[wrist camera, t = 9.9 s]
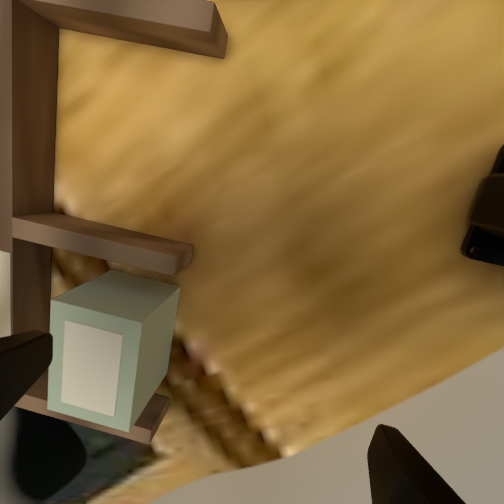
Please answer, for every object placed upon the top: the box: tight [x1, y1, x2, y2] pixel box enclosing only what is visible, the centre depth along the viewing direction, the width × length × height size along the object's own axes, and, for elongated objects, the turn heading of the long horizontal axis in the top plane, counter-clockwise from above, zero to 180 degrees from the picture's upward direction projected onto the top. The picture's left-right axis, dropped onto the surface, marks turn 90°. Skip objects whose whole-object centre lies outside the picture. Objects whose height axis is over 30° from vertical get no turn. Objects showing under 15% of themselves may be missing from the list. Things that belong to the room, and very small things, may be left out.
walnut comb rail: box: [0, 0, 228, 444], centre depth 18 cm, size 11×26×3 cm, turn 168°
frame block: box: [47, 270, 180, 432], centre depth 18 cm, size 5×7×6 cm
